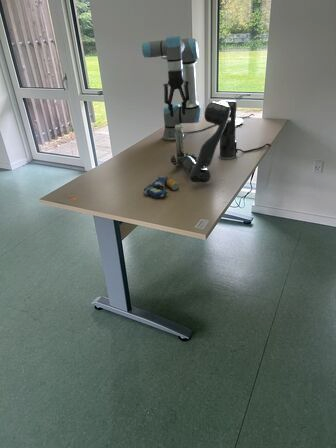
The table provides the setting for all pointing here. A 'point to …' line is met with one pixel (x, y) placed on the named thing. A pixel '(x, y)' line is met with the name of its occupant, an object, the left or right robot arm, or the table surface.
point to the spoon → (238, 121)
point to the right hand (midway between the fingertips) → (179, 155)
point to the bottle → (179, 144)
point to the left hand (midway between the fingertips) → (177, 115)
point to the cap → (178, 127)
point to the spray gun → (160, 183)
